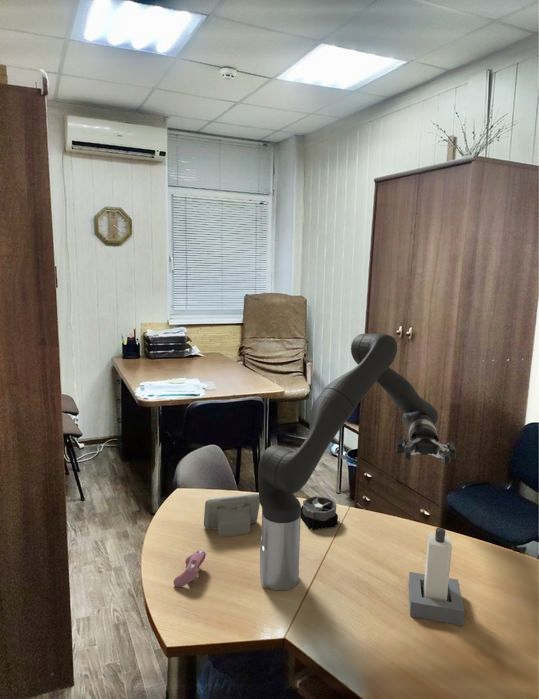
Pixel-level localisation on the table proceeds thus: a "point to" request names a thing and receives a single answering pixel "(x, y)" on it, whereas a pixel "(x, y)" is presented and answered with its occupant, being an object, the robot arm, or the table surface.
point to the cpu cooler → (319, 513)
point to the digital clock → (231, 514)
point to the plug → (437, 565)
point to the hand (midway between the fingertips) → (427, 459)
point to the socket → (435, 602)
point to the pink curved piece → (190, 569)
